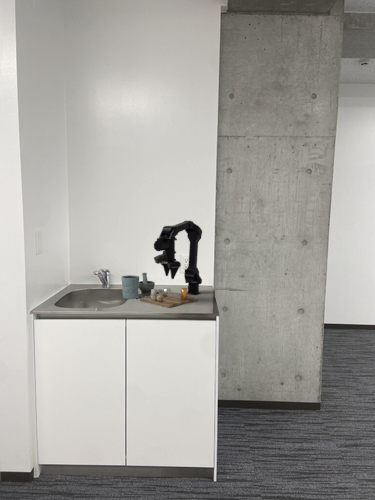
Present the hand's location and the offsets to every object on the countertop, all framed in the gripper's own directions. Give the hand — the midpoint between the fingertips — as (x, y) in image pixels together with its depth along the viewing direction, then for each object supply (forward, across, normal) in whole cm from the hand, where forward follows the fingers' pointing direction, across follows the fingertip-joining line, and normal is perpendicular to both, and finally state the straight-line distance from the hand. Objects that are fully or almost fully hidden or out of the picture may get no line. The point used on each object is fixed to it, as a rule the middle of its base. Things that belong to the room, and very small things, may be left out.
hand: (169, 277), depth 228 cm
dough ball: (+10, +3, -7) cm, 13 cm away
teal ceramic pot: (+13, -16, -18) cm, 27 cm away
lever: (+12, -3, +3) cm, 12 cm away
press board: (+13, -1, 0) cm, 13 cm away
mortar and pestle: (+14, -22, -7) cm, 27 cm away
